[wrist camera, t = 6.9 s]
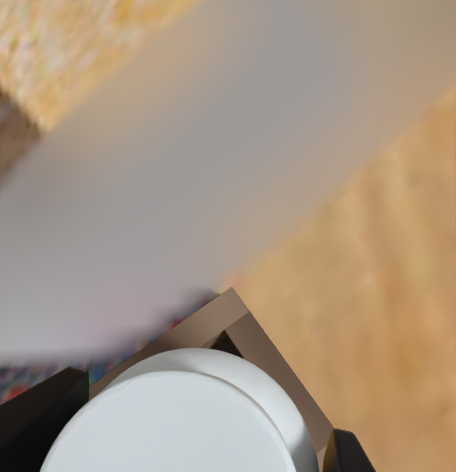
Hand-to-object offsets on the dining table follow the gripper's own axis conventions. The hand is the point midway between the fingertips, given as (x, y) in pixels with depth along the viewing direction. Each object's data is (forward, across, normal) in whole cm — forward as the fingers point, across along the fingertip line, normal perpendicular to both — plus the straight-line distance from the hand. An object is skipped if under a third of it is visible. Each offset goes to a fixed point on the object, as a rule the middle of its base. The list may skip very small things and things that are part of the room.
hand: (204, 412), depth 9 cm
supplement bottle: (+4, 0, +6) cm, 7 cm away
